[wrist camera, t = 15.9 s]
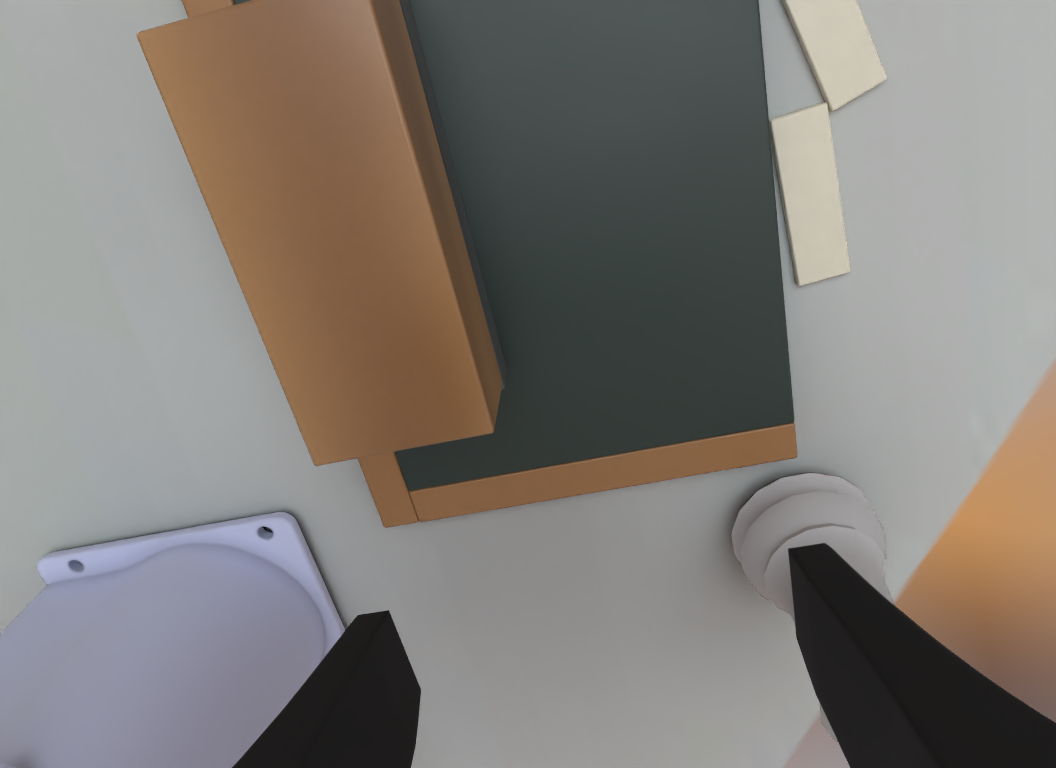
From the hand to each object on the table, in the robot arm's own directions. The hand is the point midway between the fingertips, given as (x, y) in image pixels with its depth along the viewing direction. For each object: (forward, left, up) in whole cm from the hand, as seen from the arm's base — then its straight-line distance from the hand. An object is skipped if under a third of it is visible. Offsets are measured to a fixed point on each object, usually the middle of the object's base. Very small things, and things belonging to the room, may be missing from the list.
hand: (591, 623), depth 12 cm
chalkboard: (-1, +7, -9) cm, 11 cm away
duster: (-4, +7, -9) cm, 11 cm away
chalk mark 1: (+8, +9, -10) cm, 15 cm away
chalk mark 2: (+7, +4, -10) cm, 13 cm away
